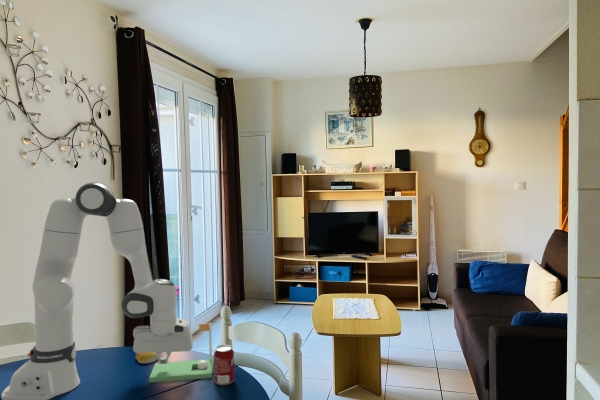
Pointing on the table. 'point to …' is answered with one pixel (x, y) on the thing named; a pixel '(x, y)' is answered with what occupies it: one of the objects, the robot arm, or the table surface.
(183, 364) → the green
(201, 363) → the ball
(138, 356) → the bread roll
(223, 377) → the soda can
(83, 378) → the table surface
